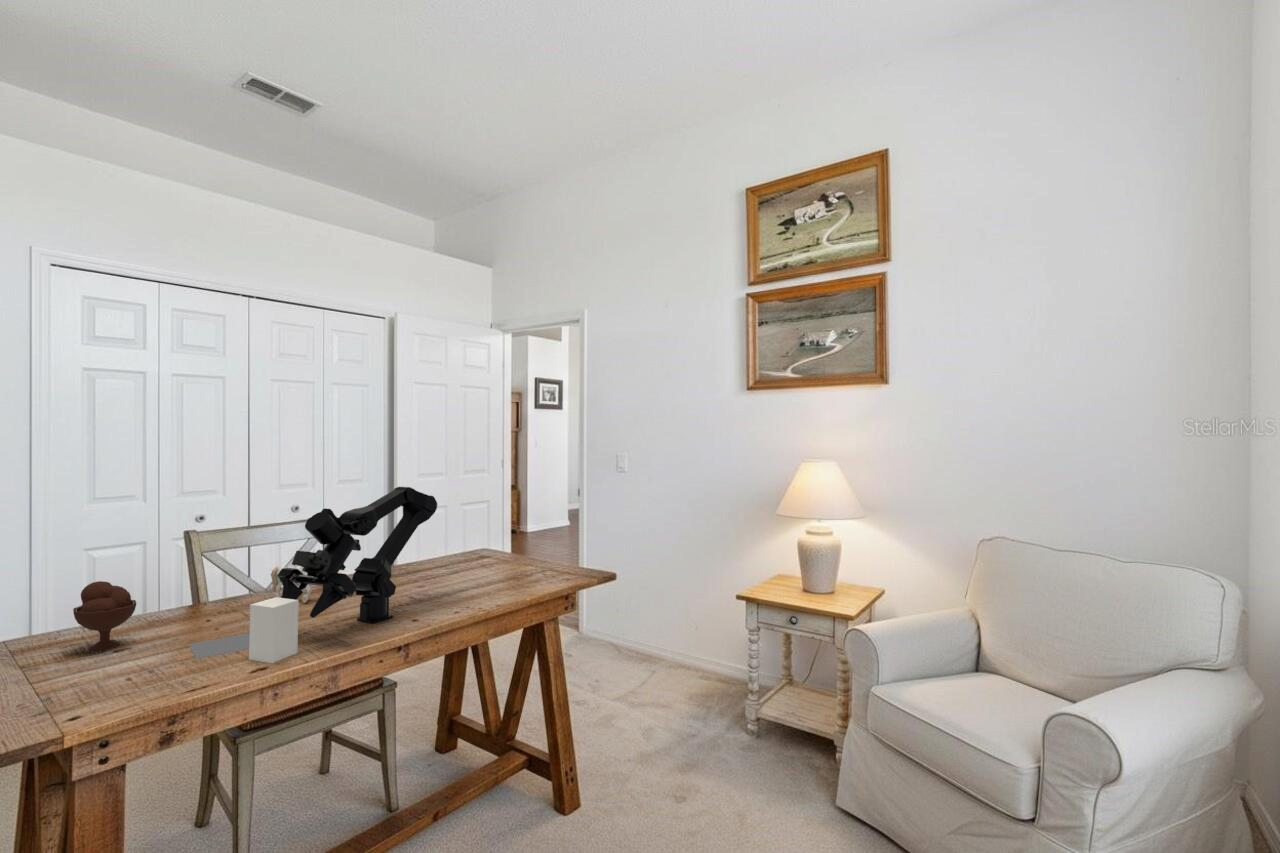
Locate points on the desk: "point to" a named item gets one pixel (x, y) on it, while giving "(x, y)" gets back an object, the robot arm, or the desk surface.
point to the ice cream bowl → (104, 611)
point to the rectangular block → (273, 629)
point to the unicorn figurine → (278, 584)
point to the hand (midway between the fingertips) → (295, 614)
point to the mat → (220, 646)
